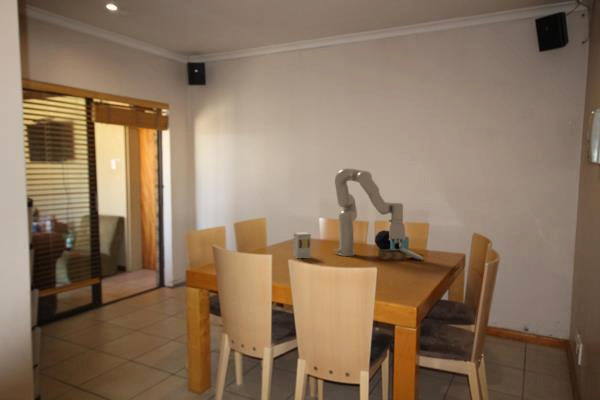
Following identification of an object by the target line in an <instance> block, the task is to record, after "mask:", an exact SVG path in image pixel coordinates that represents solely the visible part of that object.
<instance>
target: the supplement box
mask: <svg viewBox="0 0 600 400" xmlns="http://www.w3.org/2000/svg"><path fill="white" fill-rule="evenodd" d="M311 235H312V234H311V233H309V232H307V231H301V232H293V257H294V258H295V257H296V258H295V259H297V258H299V259H298V260H301V259H300V258H309V259H311V251H312V250H311V245H312V243H311V238H312V237H311Z"/></svg>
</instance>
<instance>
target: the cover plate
mask: <svg viewBox="0 0 600 400" xmlns="http://www.w3.org/2000/svg"><path fill="white" fill-rule="evenodd" d="M403 247H404V245H402V244H401V243H400V244H399V250H400V251H402V252H403V253H406V256H409V257H412V258H413V259H415V260H421V261H424V258H423V257H422V256H421V255H420V254H418V253H415V252H413V251H411V250H407V249H404V248H403Z"/></svg>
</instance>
